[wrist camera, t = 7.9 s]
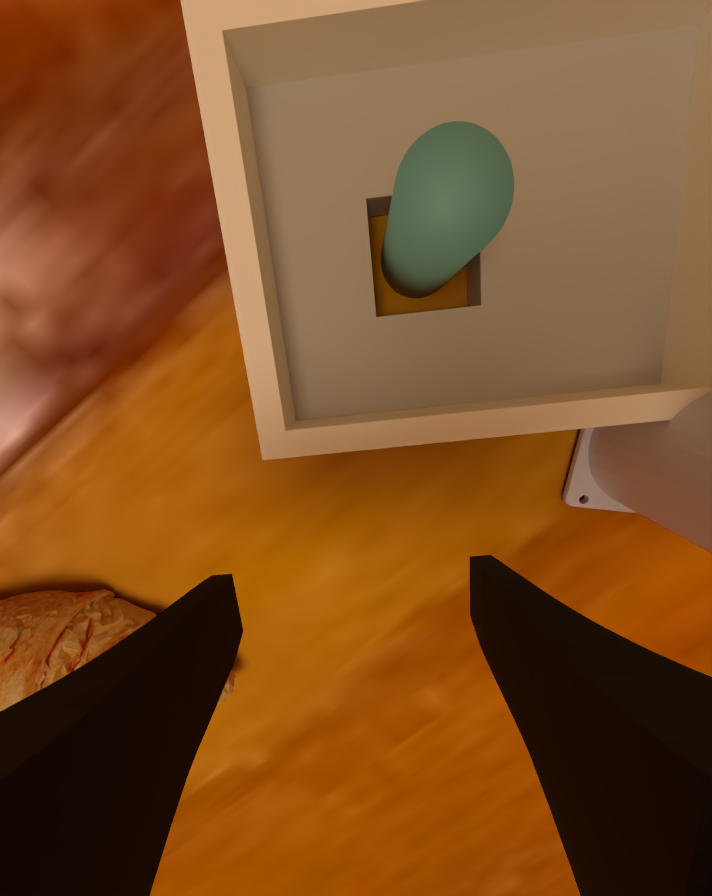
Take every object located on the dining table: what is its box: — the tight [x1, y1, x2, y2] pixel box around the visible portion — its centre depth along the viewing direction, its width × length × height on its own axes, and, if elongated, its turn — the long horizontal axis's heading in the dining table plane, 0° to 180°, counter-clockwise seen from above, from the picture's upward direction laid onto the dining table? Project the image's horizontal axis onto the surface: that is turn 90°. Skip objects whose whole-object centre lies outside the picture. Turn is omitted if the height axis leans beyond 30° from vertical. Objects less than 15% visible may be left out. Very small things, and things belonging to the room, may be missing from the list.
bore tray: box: [181, 0, 712, 460], centre depth 15 cm, size 20×16×4 cm
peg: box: [381, 121, 514, 298], centre depth 14 cm, size 4×4×7 cm
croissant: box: [0, 589, 236, 711], centre depth 21 cm, size 21×10×8 cm, turn 83°
